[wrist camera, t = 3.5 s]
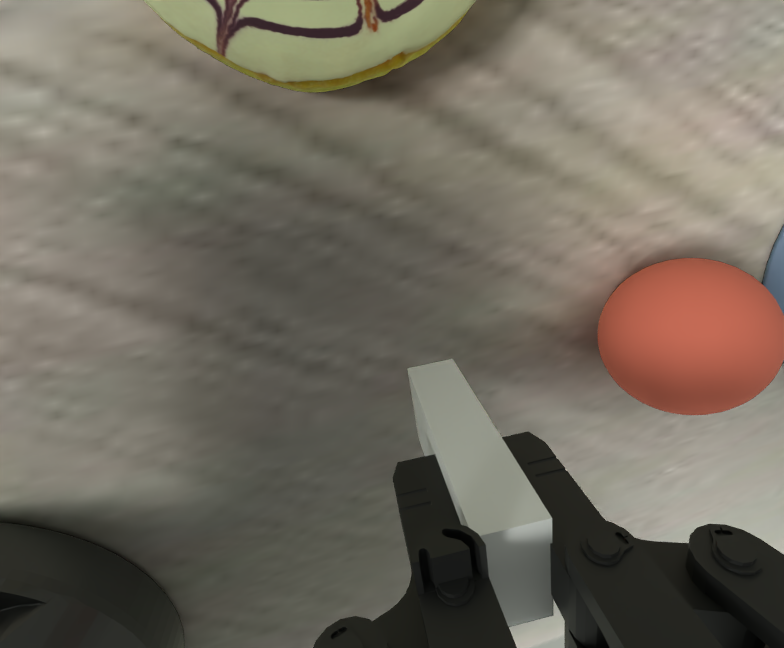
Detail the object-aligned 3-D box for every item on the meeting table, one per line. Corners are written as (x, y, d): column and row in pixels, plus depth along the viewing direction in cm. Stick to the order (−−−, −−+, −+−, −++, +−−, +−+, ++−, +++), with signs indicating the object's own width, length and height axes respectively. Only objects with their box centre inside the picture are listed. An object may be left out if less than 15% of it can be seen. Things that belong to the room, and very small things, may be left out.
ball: (585, 389, 19) (682, 475, 14) (554, 281, 17) (655, 337, 12) (700, 335, 19) (838, 402, 14) (683, 219, 17) (841, 250, 12)
